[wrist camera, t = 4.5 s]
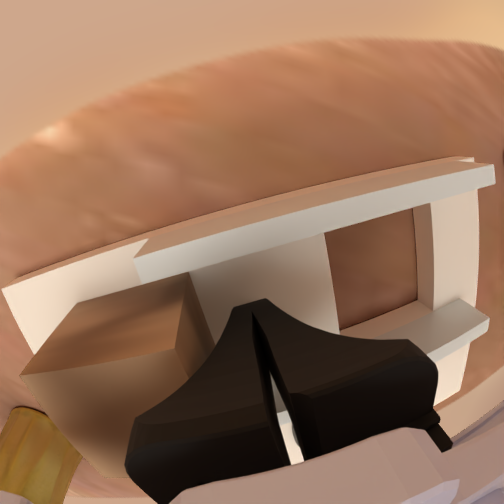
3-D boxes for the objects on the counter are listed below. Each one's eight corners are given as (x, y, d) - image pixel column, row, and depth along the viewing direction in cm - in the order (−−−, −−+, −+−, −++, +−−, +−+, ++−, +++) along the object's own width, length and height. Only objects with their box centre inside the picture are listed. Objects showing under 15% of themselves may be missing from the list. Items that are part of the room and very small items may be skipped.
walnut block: (188, 271, 11) (174, 347, 6) (227, 374, 13) (237, 466, 8) (76, 302, 11) (19, 375, 6) (126, 394, 12) (104, 477, 8)
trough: (455, 161, 11) (493, 164, 9) (458, 310, 14) (487, 330, 11) (149, 237, 10) (132, 258, 8) (215, 400, 13) (217, 440, 10)
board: (454, 156, 13) (473, 157, 11) (448, 379, 17) (459, 390, 16) (17, 277, 12) (1, 289, 10) (142, 472, 16) (140, 487, 15)
